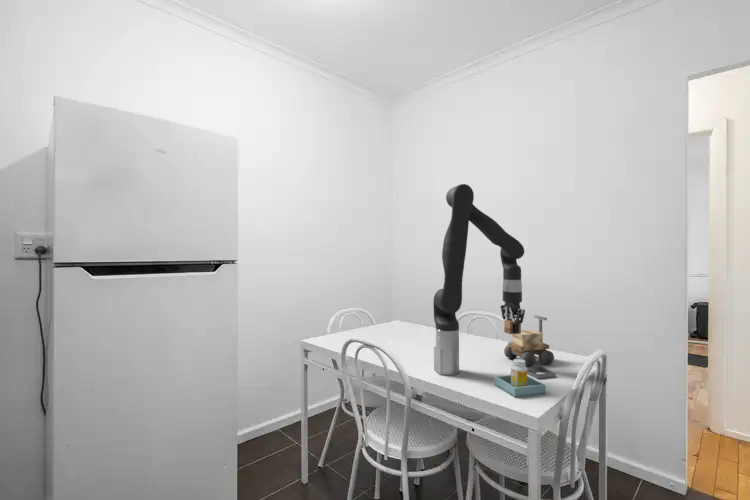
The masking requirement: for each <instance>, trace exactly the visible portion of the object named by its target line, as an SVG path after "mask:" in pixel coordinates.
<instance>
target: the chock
mask: <svg viewBox="0 0 750 500" xmlns="http://www.w3.org/2000/svg"><path fill="white" fill-rule="evenodd" d="M503 320H504V322H503V323H504V324H503V325H504V333H506V334H508V335H512V334H521V331H522V323H520V324H519V332H518V333H513V320H505V319H503ZM515 321H516V319H515Z"/></svg>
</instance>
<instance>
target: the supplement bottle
mask: <svg viewBox="0 0 750 500" xmlns="http://www.w3.org/2000/svg"><path fill="white" fill-rule="evenodd" d="M512 363H513V364H512V365H511V367H510V375H511V385H512V386H514V387H523V386H527V376H528V374H527V368H528V367H527V366H525V360H523V359H520V358H515V359H512Z"/></svg>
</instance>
